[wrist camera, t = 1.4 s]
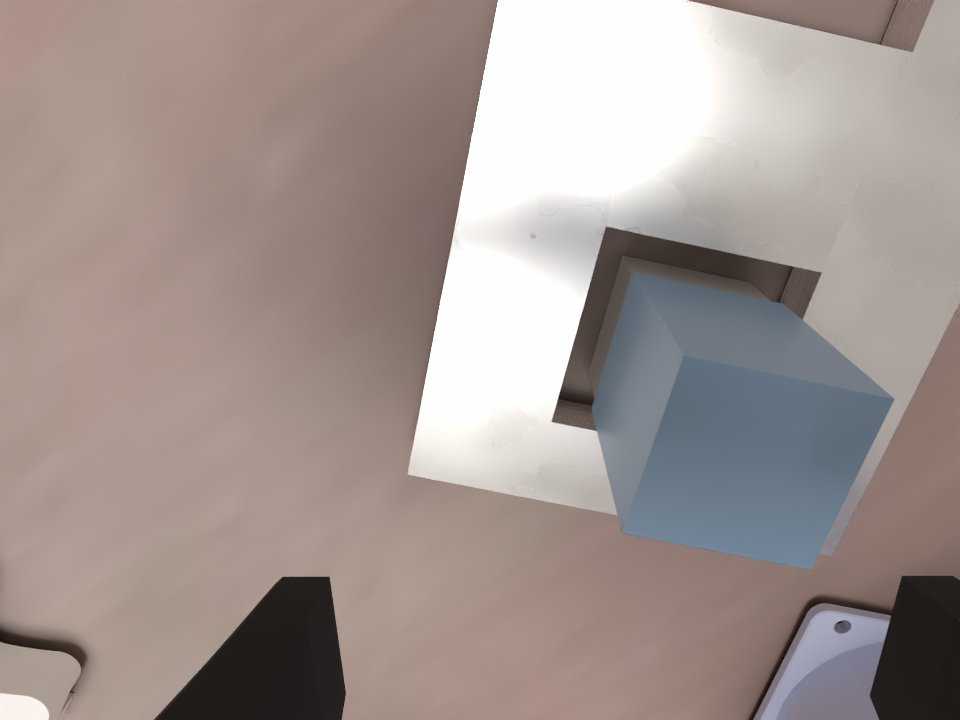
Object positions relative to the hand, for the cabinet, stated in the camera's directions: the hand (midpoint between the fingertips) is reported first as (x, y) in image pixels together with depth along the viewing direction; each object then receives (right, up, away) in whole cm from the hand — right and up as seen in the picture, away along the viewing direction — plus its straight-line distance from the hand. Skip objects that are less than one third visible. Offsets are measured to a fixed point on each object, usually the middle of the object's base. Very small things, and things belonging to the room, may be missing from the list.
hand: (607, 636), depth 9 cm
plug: (+3, +4, +10) cm, 11 cm away
